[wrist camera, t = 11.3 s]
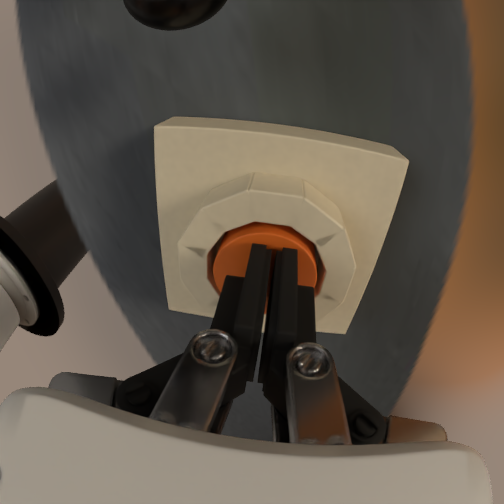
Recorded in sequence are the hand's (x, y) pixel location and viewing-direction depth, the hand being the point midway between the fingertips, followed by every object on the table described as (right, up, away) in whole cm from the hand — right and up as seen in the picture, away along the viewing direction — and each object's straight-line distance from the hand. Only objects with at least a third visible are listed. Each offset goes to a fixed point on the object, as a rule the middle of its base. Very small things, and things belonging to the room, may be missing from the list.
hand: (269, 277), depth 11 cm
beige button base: (0, +2, +3) cm, 4 cm away
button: (0, +1, +1) cm, 2 cm away
